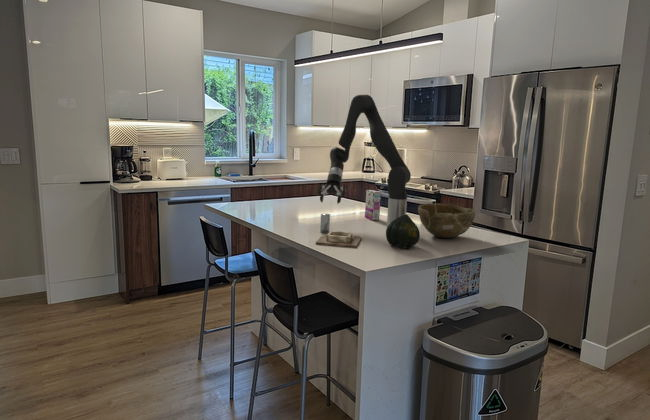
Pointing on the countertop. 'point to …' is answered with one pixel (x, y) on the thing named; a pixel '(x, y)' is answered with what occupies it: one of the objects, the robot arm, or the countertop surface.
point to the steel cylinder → (325, 223)
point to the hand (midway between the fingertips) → (329, 202)
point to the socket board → (339, 239)
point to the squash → (402, 232)
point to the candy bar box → (372, 204)
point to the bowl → (445, 219)
